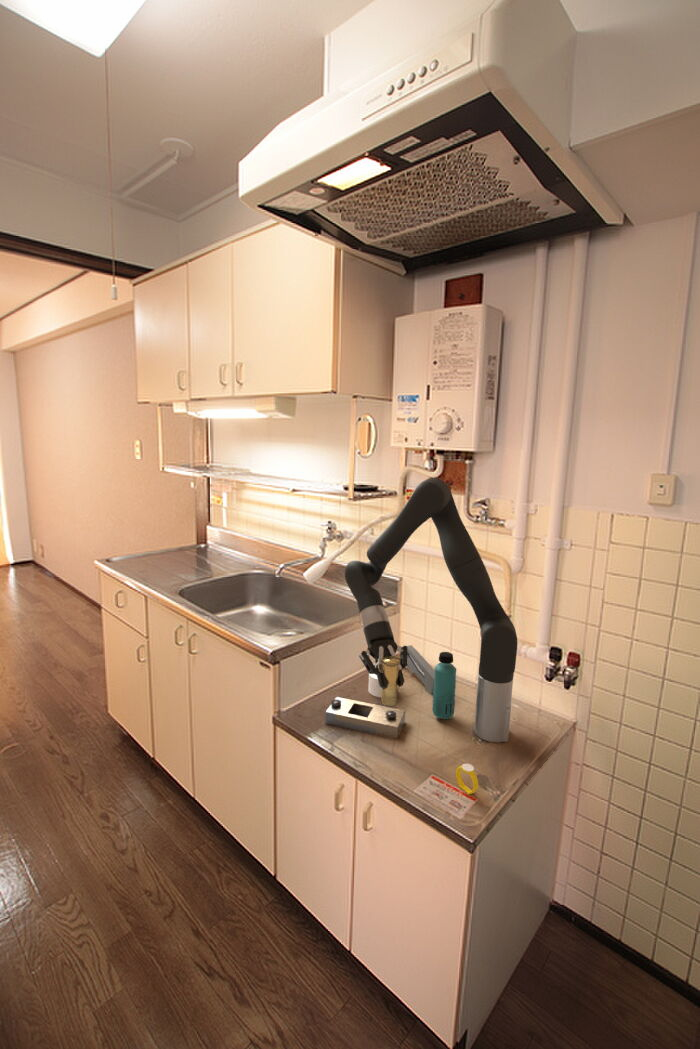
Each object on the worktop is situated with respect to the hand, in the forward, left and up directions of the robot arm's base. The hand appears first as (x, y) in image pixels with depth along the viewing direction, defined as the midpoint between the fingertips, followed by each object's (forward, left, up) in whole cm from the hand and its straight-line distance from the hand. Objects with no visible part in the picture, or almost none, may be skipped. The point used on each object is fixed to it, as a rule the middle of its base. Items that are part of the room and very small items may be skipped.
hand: (393, 686), depth 129 cm
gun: (+1, -40, -18) cm, 44 cm away
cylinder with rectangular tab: (+10, -29, -18) cm, 36 cm away
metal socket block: (+10, -9, -17) cm, 22 cm away
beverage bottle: (-11, -20, -18) cm, 29 cm away
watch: (-21, +9, -18) cm, 29 cm away
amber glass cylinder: (+1, -1, -5) cm, 6 cm away
